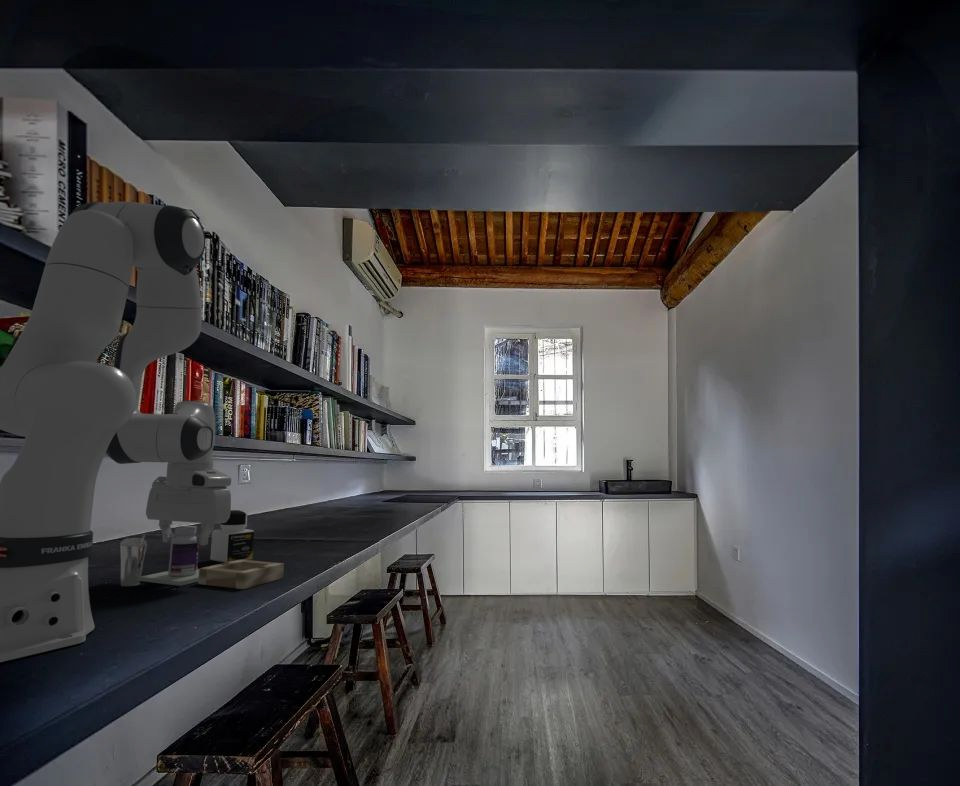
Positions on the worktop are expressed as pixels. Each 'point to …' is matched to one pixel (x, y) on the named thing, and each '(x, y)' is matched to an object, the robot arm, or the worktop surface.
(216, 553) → the medicine bottle
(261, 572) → the socket block
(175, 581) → the sage mat
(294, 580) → the worktop surface
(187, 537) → the pill bottle
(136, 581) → the milkshake
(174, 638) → the worktop surface
